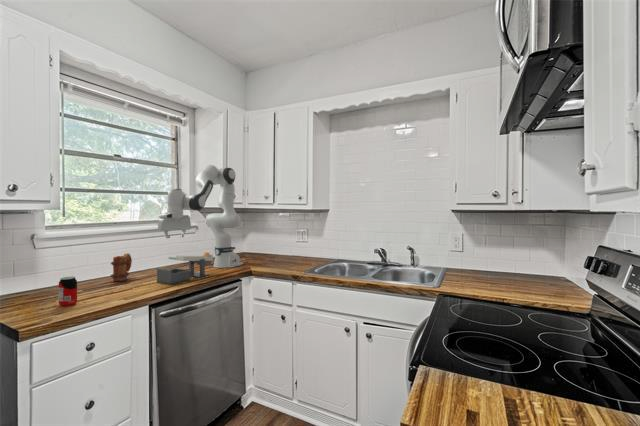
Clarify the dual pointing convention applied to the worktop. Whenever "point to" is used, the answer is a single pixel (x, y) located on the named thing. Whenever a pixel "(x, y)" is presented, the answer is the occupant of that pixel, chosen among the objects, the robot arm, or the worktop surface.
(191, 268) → the stand
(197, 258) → the lever
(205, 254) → the ball
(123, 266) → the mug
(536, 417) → the worktop surface
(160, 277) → the grey open box
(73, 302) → the beverage can
